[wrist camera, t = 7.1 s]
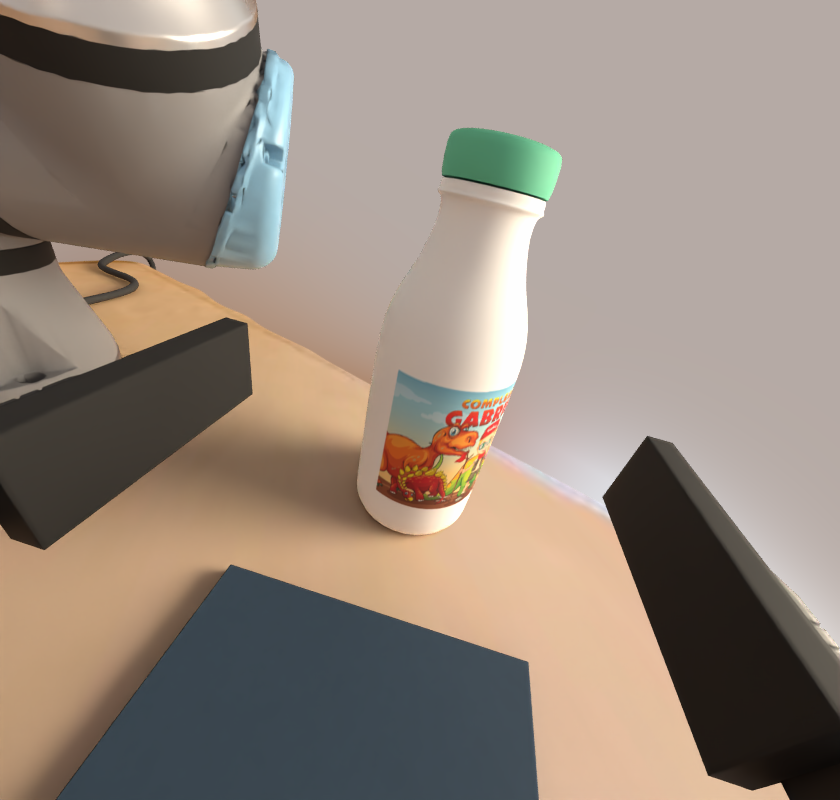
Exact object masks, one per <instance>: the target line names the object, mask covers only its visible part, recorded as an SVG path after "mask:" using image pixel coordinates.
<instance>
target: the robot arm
mask: <svg viewBox="0 0 840 800" xmlns="http://www.w3.org/2000/svg"><path fill="white" fill-rule="evenodd" d="M259 34H260V33H259V24H258V10H257V3H256V0H0V525H1V526H2V527H3V529H4V530H5V531H6V533H7V534H8V536H9V537H10V538H11V539H13V540H16V541H19V542H22V543H25V544H28V545H31V546H34V547H37V548H40V549H43V550H45V549H47V548H48V547H49V546H51V545H52V544H53V543H55V542H56V541H57V540H59V539H60V538H61V537H63V536H64V535H65V534H67V533H68V532H69V531H71V530H72V529H73V528H75V527H76V526H77V525H79V524H80V523H81V522H83V521H84V520H85V519H87V518H88V517H89V516H91V515H92V514H93V513H95V512H96V511H97V510H99V509H100V508H101V507H103V506H104V505H105V504H107V503H108V502H109V501H111V500H112V499H113V498H115V497H116V496H117V495H118V494H120V493H121V492H122V491H124V490H125V489H126V488H128V487H129V486H130V485H132V484H133V483H134V482H136V481H137V480H138V479H140V478H141V477H142V476H144V475H145V474H146V473H148V472H149V471H150V470H152V469H153V468H154V467H156V466H157V465H158V464H160V463H161V462H162V461H164V460H165V459H166V458H168V457H169V456H170V455H172V454H173V453H174V452H176V451H177V450H178V449H180V448H181V447H182V446H184V445H185V444H186V443H188V442H189V441H190V440H192V439H193V438H194V437H196V436H197V435H198V434H200V433H201V432H202V431H204V430H205V429H206V428H208V427H209V426H210V425H212V424H213V423H214V422H216V421H217V420H218V419H220V418H221V417H222V416H224V415H225V414H226V413H228V412H229V411H230V410H232V409H233V408H234V407H236V406H237V405H238V404H240V403H241V402H242V401H244V400H245V399H246V398H248V397H249V396H250V395H252V380H251V366H250V353H249V339H248V325H247V323H244V322H240V321H237V320H233V319H230V318H223V319H221V320H218V321H216V322H213V323H210V324H208V325H205V326H203V327H200V328H198V329H195V330H193V331H190V332H188V333H185V334H182V335H180V336H177V337H175V338H172V339H170V340H167V341H165V342H162V343H159V344H157V345H154V346H152V347H149V348H147V349H144V350H142V351H139V352H137V353H134V354H131V355H129V356H126V357H124V358H122V357H121V354H120V351H119V347H118V345H117V343H116V342H115V339H114V338H113V336H112V334H111V333H110V331H109V330H108V329H107V328H106V326H105V325H104V324H103V323H102V321H101V320H100V319H99V317H98V316H97V315H96V314H95V312H94V311H93V310H92V309H91V307H90V306H89V304H93V303H97V302H101V301H105V300H109V299H113V298H117V297H121V296H124V295H127V294H129V293H131V292H133V291H135V290H136V289H137V288H138V286H139V283H138V281H137V280H136V279H135V278H133V277H132V276H130V275H128V274H125V273H123V272H120V271H117V270H114V269H112V268H109V267H107V266H106V265H107V264H109V263H110V262H112V261H114V260H116V259H118V258H120V257H123V256H127V255H139V256H143V257H144V258H145V259H146V260H147V261H148V263H149V265H150V267H151V268H153V269H155V270H156V266H155V263H154V261H153V259H152V258H157V259H163V260H169V261H176V262H182V263H188V264H194V265H200V266H205V267H207V268H215V267H216V266H219V267H230V268H241V269H259V268H261V267H264V266H267V265H268V264H269V263H271V262H272V261H273V259H274V258H275V256H276V254H277V249H278V243H279V235H280V226H281V218H282V208H283V199H284V188H285V178H286V167H287V156H288V147H289V135H290V123H291V112H292V98H293V83H294V74H293V70H292V68H291V66H290V65H289V64H288V62H286V61H285V60H283V59H281V58H279V57H278V55H277V53H276V52H275V51H273V50H270V49H267V51H266V52H263V51H262V48H261V44H260V35H259ZM51 242H57V243H63V244H69V245H75V246H81V247H88V248H94V249H100V250H107V251H113V252H115V253H113V254H110V255H108V256H106V257H104V258H103V259H101V260H100V261H99V262H98V267H99V268H100V269H101V270H102V271H104V272H106V273H108V274H111V275H113V276H116V277H119V278H122V279H124V280H127V281H129V282H130V284H129V285H128V286H126V287H124V288H121V289H118V290H115V291H111V292H107V293H102V294H98V295H93V296H89V297H84V298H83V297H82V296H81V295H80V293H79V292H78V291H77V290H76V288H75V287H74V286H73V285H72V283H71V282H70V281H69V280H68V278H67V277H66V276H65V274H64V273H63V272H62V270H61V268H60V266H59V264H58V261H57V259H56V256H55V253H54V250H53V248H52V245H51ZM603 499H604V502H605V505H606V508H607V510H608V513H609V515H610V518H611V521H612V523H613V526H614V529H615V531H616V534H617V537H618V539H619V542H620V544H621V547H622V550H623V552H624V555H625V558H626V560H627V563H628V566H629V568H630V571H631V573H632V576H633V579H634V581H635V584H636V587H637V589H638V592H639V595H640V597H641V600H642V602H643V605H644V608H645V610H646V613H647V616H648V618H649V621H650V624H651V626H652V629H653V631H654V634H655V637H656V639H657V642H658V645H659V647H660V650H661V653H662V655H663V658H664V661H665V663H666V666H667V668H668V671H669V674H670V676H671V679H672V682H673V684H674V687H675V690H676V692H677V695H678V697H679V700H680V703H681V705H682V708H683V711H684V713H685V716H686V719H687V721H688V724H689V726H690V729H691V732H692V734H693V737H694V740H695V742H696V745H697V748H698V750H699V753H700V755H701V758H702V761H703V763H704V766H705V769H706V771H707V774H708V776H711V777H714V778H717V779H720V780H723V781H726V782H729V783H732V784H735V785H738V786H741V787H743V788H746V789H749V790H752V791H753V790H756V789H760V788H763V787H767V786H770V785H774V784H777V783H782V785H783V787H784V789H785V791H786V793H787V795H788V797H789V799H790V800H840V652H839V647H838V645H837V644H836V643H835V642H834V640H833V639H832V638H831V637H830V635H829V634H828V633H827V632H826V630H825V629H821V628H820V623H819V622H818V620H817V619H816V618H815V616H814V615H813V614H812V613H811V611H810V610H809V609H808V608H807V606H806V605H805V604H804V603H803V601H802V600H801V599H800V597H799V596H798V595H797V594H796V593H794V591H792V590H791V589H790V588H789V587H788V586H787V585H786V584H785V583H784V582H783V581H782V580H781V579H780V578H779V577H777V576H776V575H775V574H774V573H773V572H772V571H771V570H770V569H769V567H768V566H767V565H766V564H765V562H764V561H763V560H762V558H761V557H760V556H759V555H758V553H757V552H756V551H755V549H754V548H753V547H752V545H751V544H750V543H749V542H748V540H747V539H746V538H745V536H744V535H743V534H742V532H741V531H740V530H739V529H738V527H737V526H736V525H735V523H734V522H733V521H732V520H731V518H730V517H729V516H728V514H727V513H726V512H725V510H724V509H723V508H722V507H721V505H720V504H719V503H718V501H717V500H716V499H715V498H714V496H713V495H712V494H711V492H710V491H709V490H708V488H707V487H706V486H705V484H704V483H703V482H702V481H701V479H700V478H699V477H698V475H697V474H696V473H695V472H694V470H693V469H692V468H691V466H690V465H689V464H688V463H687V461H686V460H685V459H684V457H683V456H682V455H681V453H680V452H679V451H678V449H677V448H676V447H675V446H674V444H673V443H670V442H667V441H663V440H660V439H656V438H653V437H649V436H647V437H646V438H645V440H644V441H643V442H642V444H641V445H640V447H639V448H638V449H637V451H636V452H635V453H634V455H633V456H632V457H631V459H630V460H629V462H628V463H627V464H626V466H625V467H624V468H623V470H622V471H621V472H620V474H619V475H618V477H617V478H616V479H615V481H614V482H613V483H612V485H611V486H610V488H609V489H608V490H607V492H606V493H605V494H604V496H603Z"/></svg>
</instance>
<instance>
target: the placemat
mask: <svg viewBox="0 0 840 800" xmlns="http://www.w3.org/2000/svg"><path fill="white" fill-rule="evenodd" d="M56 800H539V797H538V784H537V770H536V757H535V744H534V731H533V718H532V705H531V692H530V678H529V665H528V662H527V661H523V660H520V659H517V658H514V657H511V656H508V655H505V654H502V653H499V652H496V651H493V650H490V649H487V648H484V647H481V646H478V645H475V644H472V643H469V642H466V641H462V640H459V639H456V638H453V637H450V636H447V635H444V634H441V633H438V632H435V631H432V630H429V629H426V628H423V627H420V626H417V625H414V624H411V623H408V622H405V621H402V620H398V619H395V618H392V617H389V616H386V615H383V614H380V613H377V612H374V611H371V610H368V609H365V608H362V607H359V606H356V605H353V604H350V603H347V602H344V601H341V600H337V599H334V598H331V597H328V596H325V595H322V594H319V593H316V592H313V591H310V590H307V589H304V588H301V587H298V586H295V585H292V584H289V583H286V582H283V581H280V580H277V579H273V578H270V577H267V576H264V575H261V574H258V573H255V572H252V571H249V570H246V569H243V568H240V567H237V566H234V565H230V566H229V568H228V569H227V570H226V572H225V573H224V574H223V576H222V577H221V578H220V580H219V581H218V582H217V584H216V585H215V586H214V588H213V589H212V590H211V592H210V593H209V594H208V596H207V597H206V599H205V600H204V601H203V603H202V604H201V605H200V607H199V608H198V609H197V611H196V612H195V613H194V615H193V616H192V617H191V619H190V620H189V621H188V623H187V624H186V625H185V627H184V628H183V629H182V631H181V632H180V633H179V635H178V636H177V637H176V639H175V640H174V641H173V643H172V644H171V646H170V647H169V648H168V650H167V651H166V652H165V654H164V655H163V656H162V658H161V659H160V660H159V662H158V663H157V664H156V666H155V667H154V668H153V670H152V671H151V672H150V674H149V675H148V676H147V678H146V679H145V680H144V682H143V683H142V684H141V686H140V687H139V688H138V690H137V691H136V693H135V694H134V695H133V697H132V698H131V699H130V701H129V702H128V703H127V705H126V706H125V707H124V709H123V710H122V711H121V713H120V714H119V715H118V717H117V718H116V719H115V721H114V722H113V723H112V725H111V726H110V727H109V729H108V730H107V731H106V733H105V734H104V735H103V737H102V738H101V740H100V741H99V742H98V744H97V745H96V746H95V748H94V749H93V750H92V752H91V753H90V754H89V756H88V757H87V758H86V760H85V761H84V762H83V764H82V765H81V766H80V768H79V769H78V770H77V772H76V773H75V774H74V776H73V777H72V778H71V780H70V781H69V782H68V784H67V785H66V787H65V788H64V789H63V791H62V792H61V793H60V795H59V796H58V797H57V799H56Z"/></svg>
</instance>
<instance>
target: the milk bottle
mask: <svg viewBox="0 0 840 800" xmlns="http://www.w3.org/2000/svg"><path fill="white" fill-rule="evenodd" d="M561 162H562V158H561V156H560V154H559V153H558V152H556V151H555V150H553V149H551V148H550V147H548V146H546V145H544V144H541V143H539V142H536V141H533V140H530V139H527V138H524V137H520V136H517V135H513V134H509V133H504V132H499V131H494V130H487V129H479V128H461V129H456V130H454V131H453V132H452V133H451V134H450V137H449V139H448V142H447V146H446V150H445V154H444V160H443V166H442V175H443V176H444V177H443V178H442V180H441V184H440V187H439V188H438V192H439V193H440V194H441V204H440V209H439V213H438V216H437V219H436V222H435V225H434V227H433V229H432V231H431V233H430V236H429V238H428V240H427V242H426V244H425V246H424V248H423V250H422V251H421V253H420V255H419V257H418V258H417V260H416V262H415V263H414V264H413V266H412V267H411V269H410V270H409V272H408V273H407V275H406V276H405V278H404V279H403V281H402V282H401V284H400V286H399V287H398V289H397V290H396V292H395V294H394V296H393V298H392V300H391V302H390V304H389V307H388V309H387V312H386V315H385V318H384V321H383V324H382V328H381V332H380V337H379V342H378V347H377V352H376V358H375V363H374V369H373V375H372V382H371V388H370V394H369V400H368V407H367V414H366V420H365V427H364V434H363V440H362V447H361V454H360V461H359V468H358V477H357V490H358V494H359V497H360V499H361V501H362V503H363V505H364V507H365V508H366V510H367V511H368V513H369V514H370V515H371V516H372V517H373V518H374V519H375V520H377V521H378V522H379V523H381V524H382V525H383V526H385V527H388V528H389V529H391V530H393V531H397V532H400V533H403V534H410V535H428V534H431V533H435V532H438V531H440V530H442V529H444V528H446V527H448V526H450V525H451V524H452V523H454V522H455V521H456V520H457V519H458V517H459V516H460V514H461V513H462V511H463V509H464V507H465V504H466V502H467V500H468V498H469V495H470V493H471V491H472V488H473V486H474V484H475V481H476V479H477V476H478V474H479V472H480V469H481V467H482V464H483V462H484V460H485V457H486V455H487V452H488V450H489V448H490V445H491V443H492V440H493V437H494V435H495V433H496V430H497V428H498V425H499V423H500V421H501V418H502V416H503V413H504V411H505V408H506V406H507V403H508V401H509V398H510V395H511V393H512V390H513V387H514V385H515V382H516V379H517V376H518V374H519V371H520V368H521V364H522V360H523V356H524V352H525V346H526V340H527V327H528V322H527V302H526V265H527V255H528V247H529V242H530V237H531V234H532V230H533V227H534V225H535V223H536V221H537V220H538V219H539V218H541V217H543V216H544V209H545V205H546V203H545V202H544V201H548V199H549V198H550V196H551V194H552V192H553V189H554V186H555V184H556V181H557V178H558V175H559V171H560V168H561Z"/></svg>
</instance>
